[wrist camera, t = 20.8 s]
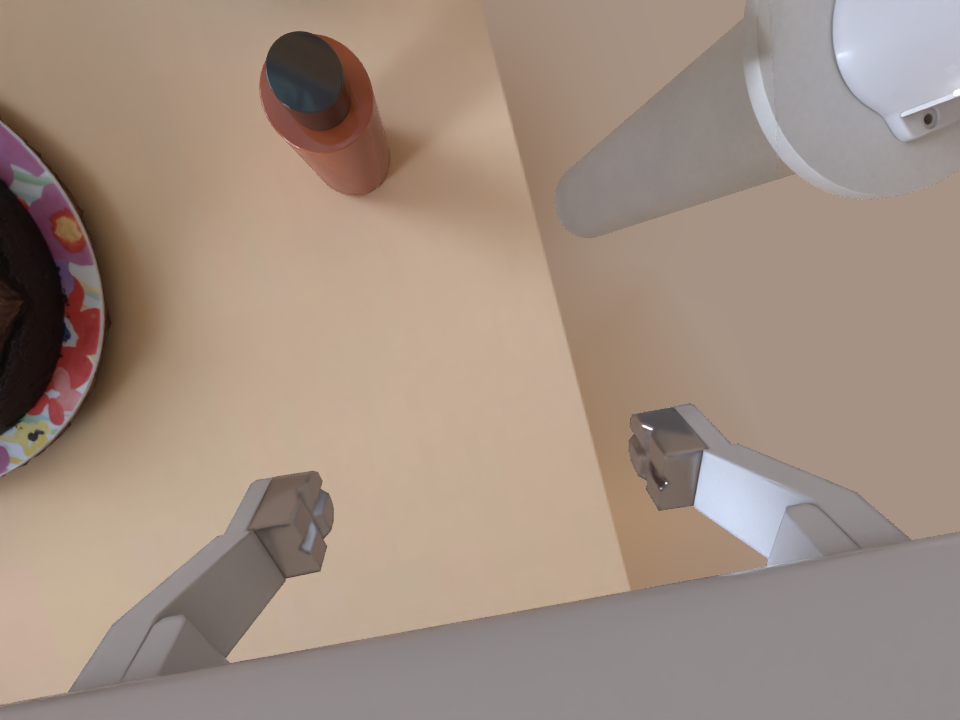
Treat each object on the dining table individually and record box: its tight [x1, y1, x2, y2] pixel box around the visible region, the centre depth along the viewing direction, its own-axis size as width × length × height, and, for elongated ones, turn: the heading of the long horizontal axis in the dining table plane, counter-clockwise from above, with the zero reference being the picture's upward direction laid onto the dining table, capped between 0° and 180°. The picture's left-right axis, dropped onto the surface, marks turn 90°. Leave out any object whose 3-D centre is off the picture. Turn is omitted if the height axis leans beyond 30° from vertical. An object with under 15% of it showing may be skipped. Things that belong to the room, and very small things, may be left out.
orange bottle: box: [259, 31, 390, 196], centre depth 23 cm, size 5×5×11 cm
